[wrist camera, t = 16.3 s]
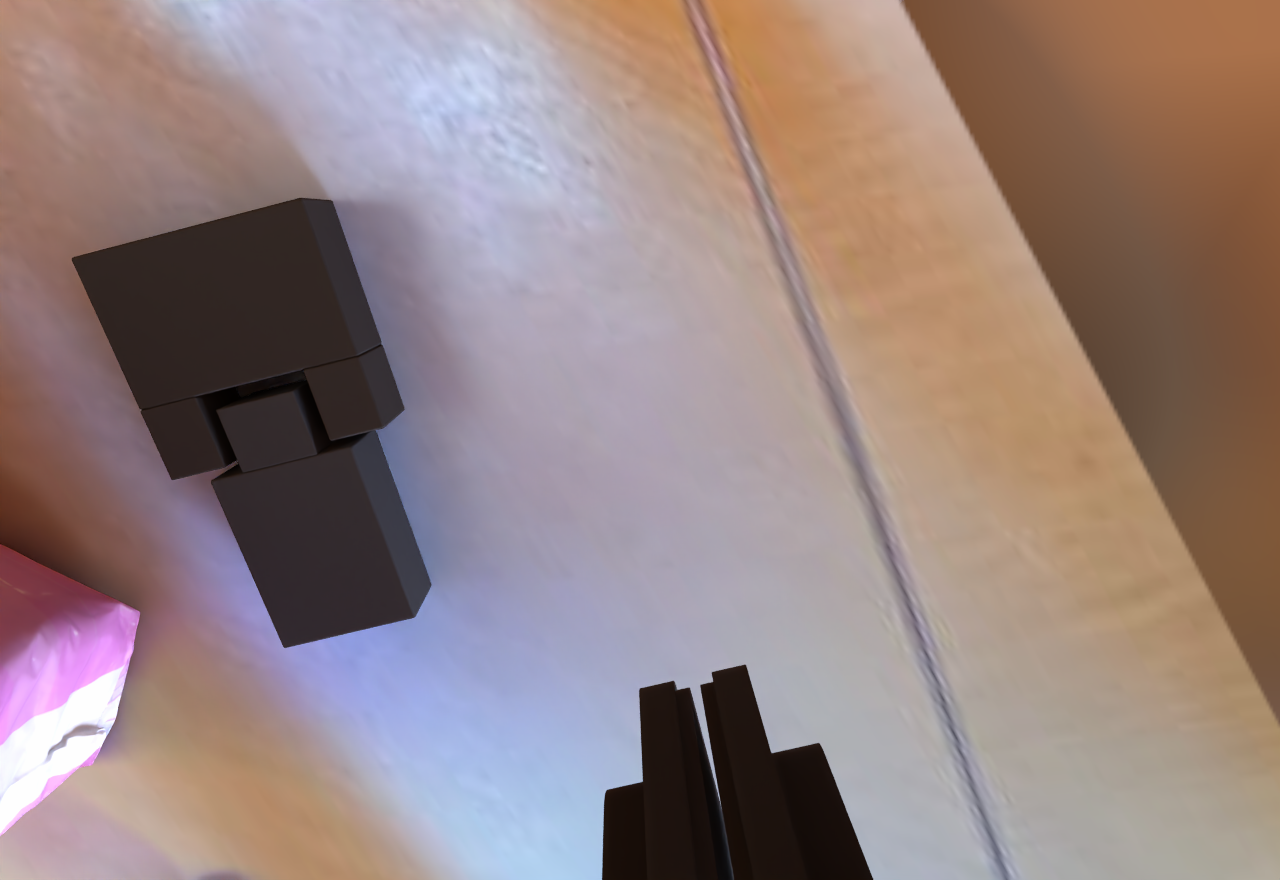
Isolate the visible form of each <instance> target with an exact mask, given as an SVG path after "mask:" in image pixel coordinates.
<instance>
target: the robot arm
mask: <svg viewBox="0 0 1280 880" xmlns="http://www.w3.org/2000/svg"><path fill="white" fill-rule="evenodd" d="M712 677H713V682H711V683H707V684H702V685H700V686H701V693H702V698H703V704H704V710H705V715H706V721H707V727H708V733H709V738H710V744H711V750H712V755H713V761H714V767H715V773H716V778H717V784H718V790H719V795H720V801H721V805H720V801H719V797H718V793H717V789H716V785H715V782H714V778H713V774H712V770H711V766H710V762H709V759H708V755H707V751H706V747H705V743H704V739H703V736H702V732H701V728H700V724H699V720H698V717H697V713H696V709H695V705H694V701H693V697H692V694H691V690H690V688H685V689H680V690H677V688H676V685H675V682H674V681H671V682H667V683H662V684H658V685H653V686H649V687H645V688H640V690H639V698H640V721H641V745H642V769H643V782H641V783H636V784H632V785H627V786H623V787H618V788H613V789H609V790H607V791H606V793H605V800H604V830H603V868H602V880H873V878H872V875H871V873H870V870H869V867H868V865H867V862H866V860H865V857H864V855H863V852H862V849H861V847H860V844H859V842H858V839H857V836H856V834H855V831H854V829H853V826H852V824H851V821H850V818H849V816H848V813H847V811H846V808H845V805H844V803H843V800H842V798H841V795H840V792H839V790H838V787H837V785H836V782H835V780H834V777H833V774H832V772H831V769H830V767H829V764H828V761H827V759H826V756H825V754H824V751H823V749H822V747H821V745H820V744H819V743H817V744H812V745H808V746H803V747H799V748H794V749H790V750H785V751H780V752H776V753H771V751H770V747H769V744H768V740H767V737H766V733H765V730H764V726H763V723H762V719H761V716H760V712H759V709H758V705H757V702H756V698H755V695H754V691H753V688H752V684H751V681H750V677H749V674H748V670H747V667H746V665H741V666H737V667H733V668H728V669H724V670H719V671H715V672H712ZM721 807H722V808H721Z"/></svg>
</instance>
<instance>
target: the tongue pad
mask: <svg viewBox="0 0 1280 880" xmlns="http://www.w3.org/2000/svg"><path fill="white" fill-rule="evenodd" d="M217 414H218V416H219V418H220V421H221V423H222V425H223V428H224V430H225V432H226V435H227V437H228V439H229V442H230V444H231V446H232V449H233V451H234V454H235V456H236V458H237V461H238V463H239V464H237V465H236V466H234V467H232V468H231V469H229V470H228V471H226V472H224V473H223V474H221V475H220V476H218V477H217V478H215V479H213V480H212V481H211V484H212V486H213V488H214V490H215V493H216V495H217V497H218V499H219V502H220V504H221V506H222V508H223V511H224V513H225V515H226V518H227V520H228V522H229V524H230V527H231V529H232V531H233V533H234V536H235V538H236V540H237V543H238V545H239V547H240V549H241V552H242V554H243V556H244V558H245V561H246V563H247V565H248V568H249V570H250V572H251V574H252V577H253V579H254V581H255V583H256V586H257V588H258V590H259V592H260V595H261V597H262V599H263V602H264V604H265V606H266V608H267V611H268V613H269V615H270V617H271V620H272V622H273V624H274V627H275V629H276V631H277V633H278V636H279V638H280V640H281V642H282V645H283V647H284V648H287V647H291V646H296V645H300V644H304V643H308V642H313V641H317V640H321V639H326V638H330V637H334V636H338V635H343V634H347V633H351V632H355V631H360V630H364V629H368V628H372V627H377V626H381V625H385V624H389V623H394V622H398V621H402V620H407V619H411V618H414V617H415V616H416V614H417V613H418V611H419V609H420V607H421V605H422V603H423V601H424V599H425V597H426V595H427V593H428V591H429V589H430V588H431V582H430V579H429V576H428V574H427V571H426V568H425V565H424V563H423V560H422V557H421V554H420V552H419V549H418V546H417V543H416V541H415V538H414V535H413V532H412V530H411V527H410V524H409V521H408V519H407V516H406V513H405V510H404V508H403V505H402V502H401V499H400V497H399V494H398V491H397V488H396V486H395V483H394V480H393V477H392V475H391V472H390V469H389V466H388V464H387V461H386V458H385V455H384V453H383V450H382V447H381V444H380V442H379V439H378V436H377V433H376V431H375V430H374V431H370V432H366V433H362V434H358V435H353V436H349V437H345V438H341V439H337V440H333V441H331V440H330V439H329V436H328V434H327V431H326V428H325V426H324V423H323V421H322V418H321V415H320V413H319V410H318V408H317V405H316V402H315V400H314V397H313V395H312V392H311V389H310V387H309V384H308V381H307V380H303V381H299V382H295V383H291V384H287V385H283V386H279V387H275V388H271V389H267V390H263V391H259V392H255V393H252V394H250V395H248V396H245V397H243V398H241V399H239V400H237V401H235V402H232V403H230V404H228V405H226V406H224V407H222V408H220V409H217Z"/></svg>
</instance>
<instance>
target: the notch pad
mask: <svg viewBox="0 0 1280 880" xmlns="http://www.w3.org/2000/svg"><path fill="white" fill-rule="evenodd" d="M72 261H73V264H74V266H75V268H76V270H77V272H78V275H79V277H80V279H81V281H82V283H83V285H84V288H85V290H86V292H87V294H88V296H89V299H90V301H91V303H92V305H93V307H94V310H95V312H96V314H97V316H98V318H99V321H100V323H101V325H102V327H103V329H104V332H105V334H106V336H107V338H108V340H109V343H110V345H111V347H112V349H113V351H114V353H115V356H116V358H117V360H118V362H119V364H120V367H121V369H122V371H123V373H124V375H125V378H126V380H127V382H128V384H129V386H130V389H131V391H132V393H133V395H134V397H135V400H136V402H137V404H138V406H139V408H140V409H141V414H142V416H143V418H144V420H145V422H146V425H147V427H148V429H149V431H150V433H151V436H152V438H153V440H154V442H155V444H156V447H157V449H158V451H159V453H160V455H161V457H162V460H163V462H164V464H165V466H166V468H167V471H168V473H169V475H170V477H171V479H172V480H175V479H180V478H184V477H188V476H192V475H196V474H200V473H204V472H208V471H212V470H216V469H220V468H224V467H226V466H228V465H229V464H231V463H233V462H234V461H236V460H237V458H236V456H235V454H234V451H233V449H232V446H231V444H230V442H229V439H228V437H227V435H226V432H225V430H224V428H223V425H222V423H221V421H220V418H219V416H218V414H217V409H220V408H222V407H224V406H226V405H228V404H230V403H232V402H235V401H237V400H239V399H240V397H239V394H238V392H237V390H236V386H240V385H244V384H248V383H252V382H256V381H260V380H263V379H267V378H271V377H275V376H279V375H283V374H287V373H291V372H295V371H299V370H303V369H305V370H304V374H305V376H306V379H307V381H308V384H309V387H310V389H311V392H312V395H313V397H314V400H315V402H316V405H317V408H318V410H319V413H320V415H321V418H322V421H323V423H324V426H325V428H326V431H327V434H328V436H329V439H330V440H331V441H333V440H337V439H341V438H345V437H349V436H353V435H358V434H362V433H366V432H370V431H374V430H378V429H382V428H384V427H385V426H386V425H388V424H389V423H390V422H391V421H392V420H393V419H394V418H396V417H397V416H398V415H399V414H400V413H401V412H403V411H404V406H403V403H402V400H401V397H400V394H399V391H398V389H397V386H396V383H395V380H394V377H393V374H392V371H391V368H390V366H389V363H388V360H387V357H386V354H385V351H384V348H383V346H382V345H380V344H381V340H380V337H379V334H378V331H377V328H376V325H375V322H374V320H373V317H372V314H371V311H370V308H369V305H368V302H367V299H366V297H365V294H364V291H363V288H362V285H361V282H360V279H359V276H358V274H357V271H356V268H355V265H354V262H353V259H352V256H351V253H350V251H349V248H348V245H347V242H346V239H345V236H344V233H343V230H342V228H341V225H340V222H339V219H338V216H337V213H336V210H335V208H334V205H333V202H332V201H331V200H321V199H308V198H298V199H294V200H290V201H286V202H283V203H279V204H275V205H271V206H267V207H263V208H260V209H256V210H252V211H248V212H244V213H241V214H237V215H233V216H229V217H225V218H221V219H218V220H214V221H210V222H206V223H202V224H198V225H195V226H191V227H187V228H183V229H179V230H176V231H172V232H168V233H164V234H160V235H156V236H153V237H149V238H145V239H141V240H137V241H133V242H130V243H126V244H122V245H118V246H114V247H111V248H107V249H103V250H99V251H95V252H91V253H88V254H84V255H80V256H76V257H73V258H72Z"/></svg>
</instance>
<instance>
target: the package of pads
mask: <svg viewBox="0 0 1280 880" xmlns="http://www.w3.org/2000/svg"><path fill="white" fill-rule="evenodd" d="M139 616H140V612H139V611H137V610H136V609H134V608H132V607H131V606H128V605H126V604H124V603H122V602H120V601H118V600H116V599H114V598H111V597H109V596H107V595H105V594H103V593H100V592H98V591H96V590H94V589H92V588H90V587H87V586H85V585H83V584H81V583H79V582H77V581H75V580H73V579H71V578H68V577H66V576H64V575H62V574H60V573H58V572H56V571H54V570H52V569H49V568H47V567H45V566H43V565H41V564H39V563H37V562H35V561H33V560H31V559H29V558H27V557H25V556H24V555H22V554H20V553H18V552H16V551H14V550H12V549H10V548H8V547H6V546H3V545H1V544H0V836H1V835H2V834H3V833H4V832H5V831H7V830H8V829H9V828H10V827H11V826H12V825H13V824H14V823H15V822H17V821H18V820H19V819H20V818H21V817H22V816H23V815H24V814H25V813H26V812H27V811H29V810H31V809H32V808H34V807H35V806H36V805H38V804H39V803H40V802H41V801H42V800H43V799H44V798H45V797H46V796H48V795H49V794H50V793H51V792H52V791H53V790H54V789H56V788H57V787H58V786H59V785H60V784H61V783H62V782H63V781H64V780H65V779H67V778H68V777H69V776H70V775H71V774H72V773H73V772H74V771H75V770H76V769H78V768H80V767H84V766H89V765H92V764H93V761H94V760H95V758H96V757H97V755H98V753H99V751H100V749H101V746H102V744H103V742H104V740H105V738H106V736H107V734H108V733H109V731H110V729H111V727H112V725H113V723H114V721H115V719H116V715H117V710H118V705H119V702H120V698H121V694H122V690H123V687H124V683H125V679H126V675H127V671H128V666H129V662H130V657H131V655H132V653H133V651H134V639H135V634H136V629H137V626H138V622H139Z"/></svg>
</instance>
